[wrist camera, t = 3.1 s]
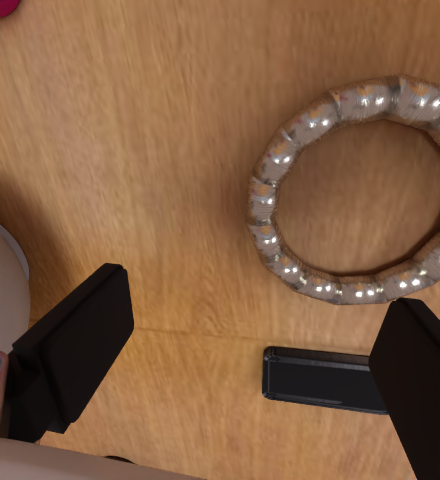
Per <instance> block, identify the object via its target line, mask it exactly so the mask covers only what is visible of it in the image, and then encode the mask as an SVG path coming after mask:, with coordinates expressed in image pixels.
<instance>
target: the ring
mask: <svg viewBox="0 0 440 480" xmlns="http://www.w3.org/2000/svg"><path fill="white" fill-rule="evenodd" d="M381 119H388V120H391V121H395V122H398V123H402V124H405V125H409V126H412V127H415V128H419V129H422V130H426V131H427V133H428V134H429V135H430V136H431V137H432V138H433V139H434V141H435V142H436V143H437V144H438V145H439V146H440V84H436V83H433V82H429V81H426V80H422V79H419V78H415V77H412V76H408V75H405V74H394V75H389V76H384V77H380V78H375V79H371V80H366V81H362V82H357V83H353V84H348V85H344V86H339V87H335V88H332V89H330V90H328V91H326V92H325V93H324V94H322V95H321V96H320V97H318V98H317V99H315V100H314V101H313V102H311V103H310V104H309V105H307V106H306V107H305V108H303V109H302V110H301V111H299V112H298V113H296V114H295V115H294V116H292V117H291V118H290V119H288V120H287V121H286V122H284V123H283V124H282V125H280V126H279V127H278V128H277V130H276V131H275V133H274V134H273V136H272V138H271V140H270V141H269V143H268V145H267V147H266V148H265V150H264V152H263V153H262V155H261V157H260V159H259V160H258V162H257V164H256V166H255V167H254V169H253V171H252V172H251V174H250V177H249V185H248V197H247V209H246V227H247V230H248V232H249V234H250V237H251V239H252V242H253V244H254V246H255V249H256V251H257V254H258V256H259V259H260V261H261V263H262V264H263V265H264V266H265V267H266V268H267V269H268V270H269V271H270V272H272V273H273V274H274V275H275V276H276V277H277V278H278V279H280V280H281V281H282V282H283V283H284V284H285V285H286V286H288V287H289V288H290V289H291V290H292V291H294V292H296V293H299V294H302V295H305V296H308V297H311V298H315V299H318V300H321V301H324V302H327V303H330V304H333V305H361V304H383V303H388V302H390V301H393V300H395V299H398V298H400V297H403V296H406V295H409V294H411V293H414V292H417V291H419V290H422V289H425V288H427V287H430V286H432V285H434V284H436V283H437V282H438V281H440V230H439V232H438V233H437V234H436V235H435V236H434V237H433V238H432V239H431V240H430V241H428V242H427V243H426V244H425V245H424V246H423V247H422V248H421V249H420V250H419V251H418V252H417V253H416V254H415V255H413V256H412V257H411V258H410V259H409V260H407V261H405V262H402V263H400V264H398V265H395V266H393V267H391V268H388V269H386V270H383V271H381V272H379V273H376V274H374V275H362V276H346V277H336V276H333V275H330V274H327V273H324V272H321V271H317V270H314V269H311V268H308V267H307V266H306V265H305V264H303V263H302V262H301V261H300V260H299V259H298V258H297V257H296V256H295V255H294V254H292V253H291V252H290V251H289V250H288V249H287V248H286V246H285V244H284V241H283V238H282V235H281V233H280V230H279V227H278V224H277V222H276V215H277V207H278V200H279V193H280V186H281V185H282V183H283V182H284V180H285V178H286V177H287V175H288V174H289V172H290V171H291V169H292V168H293V166H294V165H295V163H296V162H297V160H298V159H299V157H300V156H301V154H302V152H304V151H305V150H307V149H308V148H310V147H311V146H313V145H314V144H316V143H317V142H319V141H320V140H322V139H323V138H325V137H326V136H328V135H329V134H331V133H332V132H334V131H335V130H337V129H338V128H340V127H344V126H349V125H355V124H360V123H365V122H371V121H376V120H381Z"/></svg>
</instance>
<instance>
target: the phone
mask: <svg viewBox="0 0 440 480" xmlns="http://www.w3.org/2000/svg"><path fill="white" fill-rule="evenodd" d="M368 359H369V357H364V356H355V355H345V354H335V353H326V352H316V351H307V350H297V349H287V348H278V347H270V348H267V349H266V350H265V351H264V357H263V379H262V394H263V396H264V397H265V398H267V399H270V400H277V401H285V402H292V403H299V404H306V405H314V406H321V407H328V408H335V409H343V410H350V411H357V412H364V413H372V414H379V415H389V413H388V411H387V409H386V407H385V404H384V402H383V400H382V397H381V395H380V393H379V390H378V388H377V386H376V383H375V381H374V379H373V377H372V374H371V372H370V369H369V365H368Z"/></svg>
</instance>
